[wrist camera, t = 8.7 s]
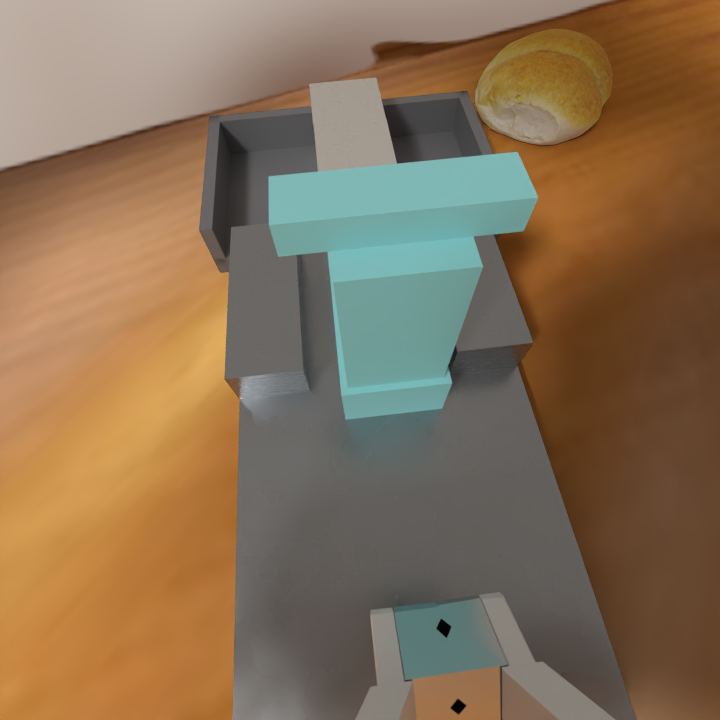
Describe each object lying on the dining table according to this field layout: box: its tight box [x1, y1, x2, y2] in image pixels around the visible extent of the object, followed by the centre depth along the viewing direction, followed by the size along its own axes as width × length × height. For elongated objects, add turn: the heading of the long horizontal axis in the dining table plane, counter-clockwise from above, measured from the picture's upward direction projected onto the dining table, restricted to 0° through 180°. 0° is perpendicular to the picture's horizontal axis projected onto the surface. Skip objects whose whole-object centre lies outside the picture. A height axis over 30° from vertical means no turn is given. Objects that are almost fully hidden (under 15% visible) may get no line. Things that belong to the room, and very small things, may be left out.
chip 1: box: [309, 78, 386, 135], centre depth 22 cm, size 4×4×4 cm
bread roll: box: [475, 28, 613, 145], centre depth 27 cm, size 8×9×4 cm
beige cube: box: [314, 118, 397, 171], centre depth 21 cm, size 4×4×4 cm
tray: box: [199, 91, 498, 272], centre depth 23 cm, size 15×9×3 cm, turn 97°
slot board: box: [225, 223, 637, 720], centre depth 16 cm, size 12×20×3 cm, turn 7°
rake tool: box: [268, 152, 538, 420], centre depth 15 cm, size 6×10×10 cm, turn 6°
